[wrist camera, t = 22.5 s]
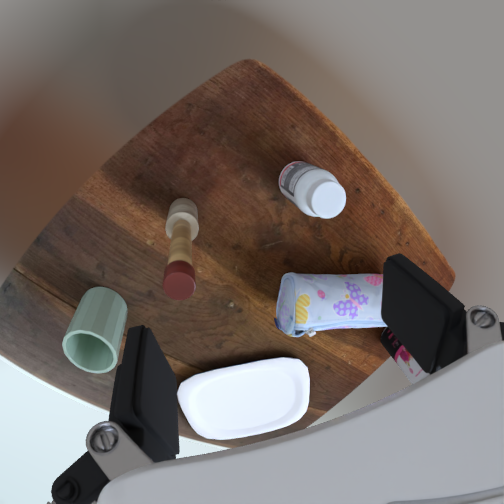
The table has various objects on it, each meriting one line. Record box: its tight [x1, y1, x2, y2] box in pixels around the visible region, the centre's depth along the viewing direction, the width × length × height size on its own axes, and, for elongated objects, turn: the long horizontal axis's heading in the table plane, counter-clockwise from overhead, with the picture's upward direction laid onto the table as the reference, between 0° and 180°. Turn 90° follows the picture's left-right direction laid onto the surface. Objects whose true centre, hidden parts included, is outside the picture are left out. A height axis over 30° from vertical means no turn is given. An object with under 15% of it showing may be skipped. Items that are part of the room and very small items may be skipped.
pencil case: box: [274, 272, 388, 337], centre depth 43 cm, size 21×9×10 cm, turn 83°
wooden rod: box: [163, 198, 199, 300], centre depth 29 cm, size 4×4×18 cm
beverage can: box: [381, 327, 430, 385], centre depth 49 cm, size 7×6×15 cm
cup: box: [62, 287, 127, 373], centre depth 36 cm, size 7×7×10 cm
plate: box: [177, 357, 310, 440], centre depth 54 cm, size 25×25×2 cm
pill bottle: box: [279, 161, 346, 218], centre depth 34 cm, size 5×5×10 cm
